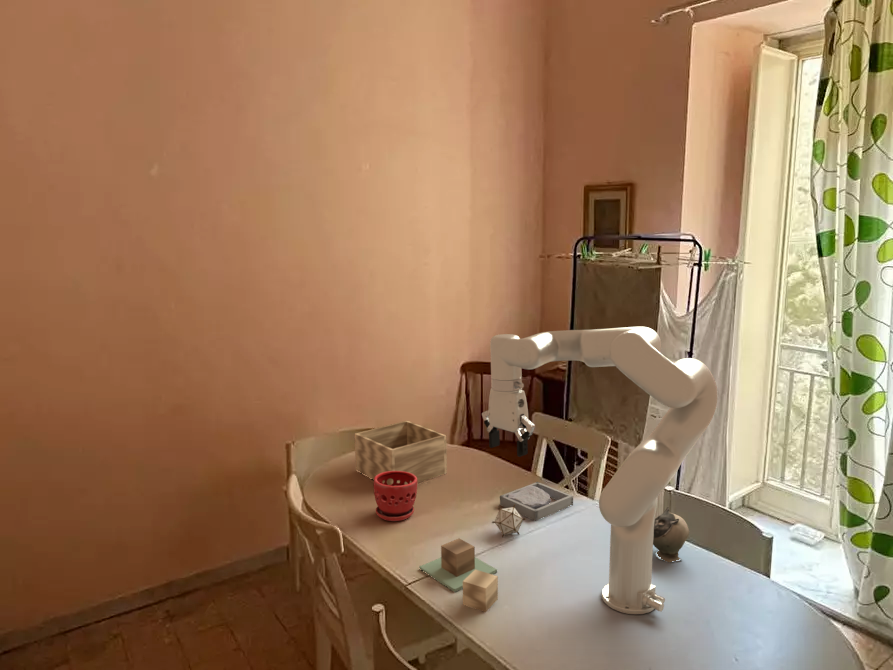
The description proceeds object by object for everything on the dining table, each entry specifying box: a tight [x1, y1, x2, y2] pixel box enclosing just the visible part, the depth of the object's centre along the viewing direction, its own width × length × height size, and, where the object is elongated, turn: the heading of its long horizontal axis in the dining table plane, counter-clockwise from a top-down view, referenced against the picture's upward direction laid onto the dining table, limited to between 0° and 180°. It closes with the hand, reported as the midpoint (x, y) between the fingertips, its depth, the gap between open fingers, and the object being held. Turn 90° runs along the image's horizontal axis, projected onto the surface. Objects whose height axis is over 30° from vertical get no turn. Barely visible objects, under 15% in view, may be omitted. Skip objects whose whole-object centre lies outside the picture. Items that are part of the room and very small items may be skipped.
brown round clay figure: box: [653, 506, 690, 563], centre depth 175 cm, size 10×12×10 cm
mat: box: [419, 556, 498, 593], centre depth 170 cm, size 14×14×1 cm
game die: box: [491, 504, 527, 538], centre depth 189 cm, size 9×8×10 cm
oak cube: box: [462, 570, 499, 613], centre depth 156 cm, size 6×6×6 cm
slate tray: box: [499, 481, 574, 522], centre depth 208 cm, size 15×17×3 cm
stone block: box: [508, 485, 552, 509], centre depth 209 cm, size 12×5×10 cm
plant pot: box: [373, 471, 418, 522], centre depth 201 cm, size 13×13×12 cm
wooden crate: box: [354, 420, 448, 485], centre depth 235 cm, size 23×23×14 cm
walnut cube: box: [440, 537, 476, 577], centre depth 169 cm, size 6×6×6 cm
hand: (508, 450), depth 168 cm, fingers open, 9 cm apart
